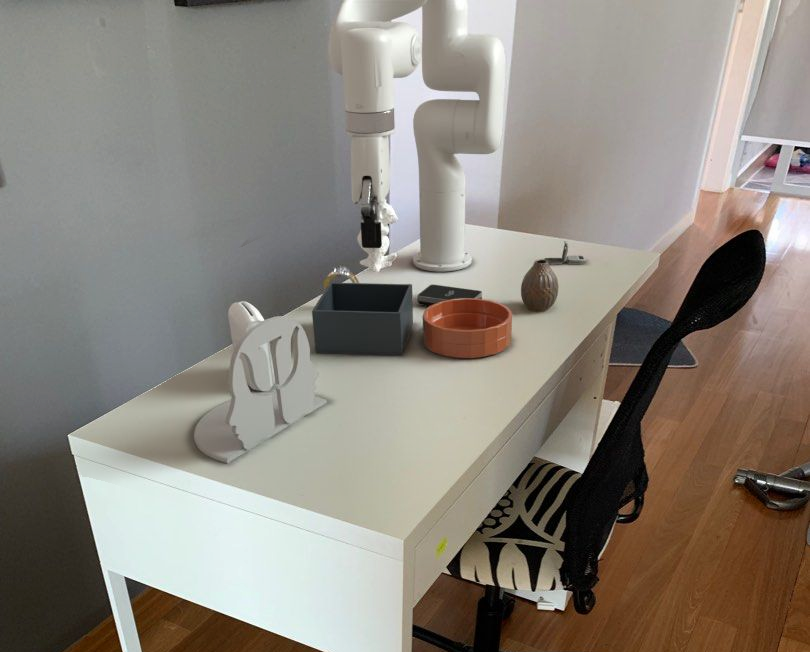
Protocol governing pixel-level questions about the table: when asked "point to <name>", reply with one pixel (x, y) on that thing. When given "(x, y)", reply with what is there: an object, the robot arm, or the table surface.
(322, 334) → the bin
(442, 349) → the bowl
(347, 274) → the ring
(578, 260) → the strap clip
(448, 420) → the table surface
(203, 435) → the ornament
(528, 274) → the vase
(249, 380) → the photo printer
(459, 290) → the external hard drive
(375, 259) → the koala figurine
